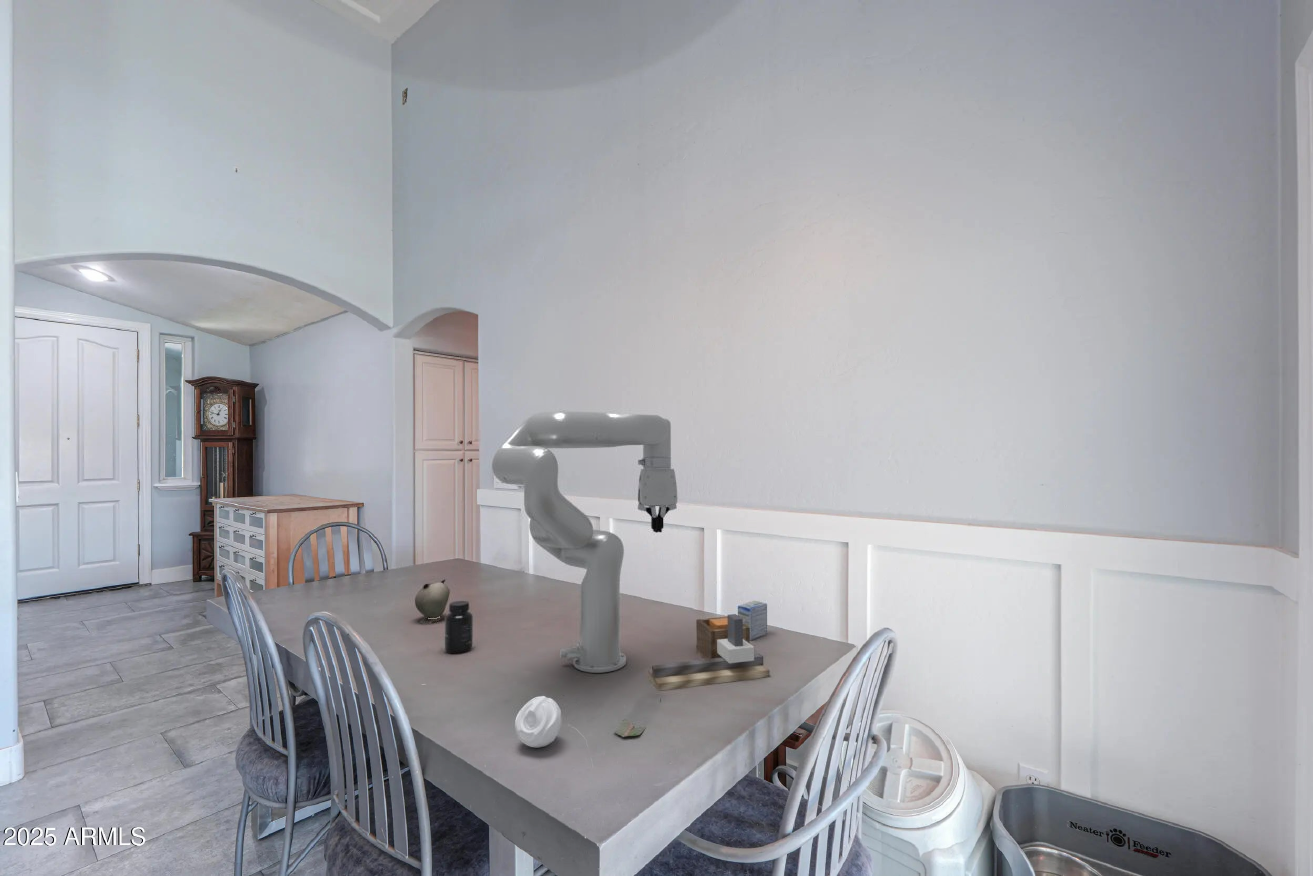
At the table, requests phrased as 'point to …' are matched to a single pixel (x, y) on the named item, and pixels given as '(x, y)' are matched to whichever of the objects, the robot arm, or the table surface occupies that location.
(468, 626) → the supplement bottle
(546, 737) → the white carved ovoid
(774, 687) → the table surface
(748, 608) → the medicine box
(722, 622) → the plunger
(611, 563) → the robot arm
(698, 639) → the brown wooden box
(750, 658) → the carriage
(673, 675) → the rail base
